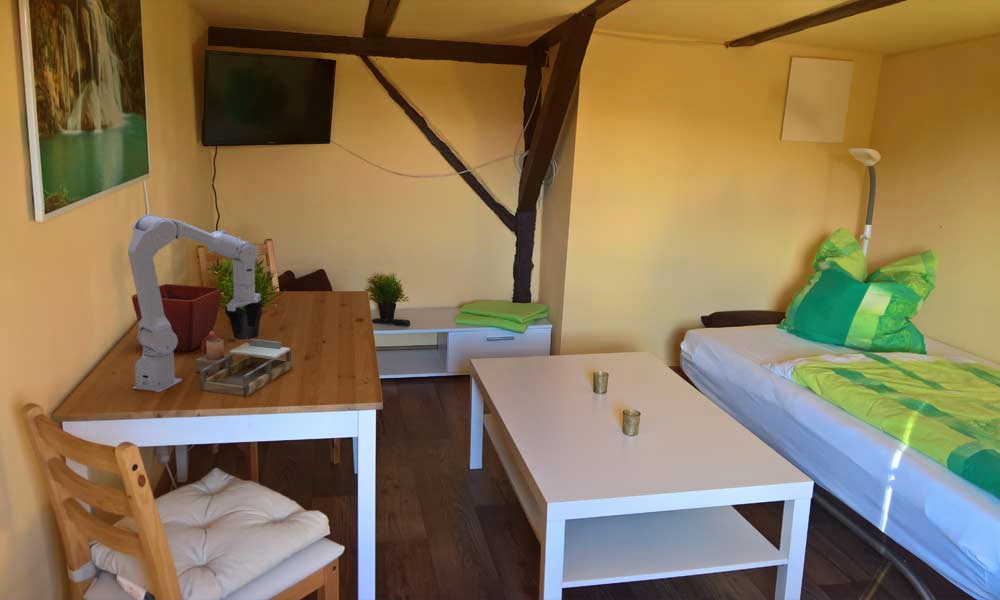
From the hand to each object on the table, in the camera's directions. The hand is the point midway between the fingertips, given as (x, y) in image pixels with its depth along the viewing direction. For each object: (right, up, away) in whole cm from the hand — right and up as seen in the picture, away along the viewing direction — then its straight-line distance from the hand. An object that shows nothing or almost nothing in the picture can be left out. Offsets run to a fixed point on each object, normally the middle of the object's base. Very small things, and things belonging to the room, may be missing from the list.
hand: (245, 329), depth 209 cm
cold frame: (+4, -13, -9) cm, 17 cm away
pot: (-6, -8, -5) cm, 11 cm away
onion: (-12, -9, +7) cm, 16 cm away
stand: (-7, -11, -4) cm, 14 cm away
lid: (+6, -6, -4) cm, 9 cm away
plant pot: (-26, -5, +17) cm, 31 cm away
